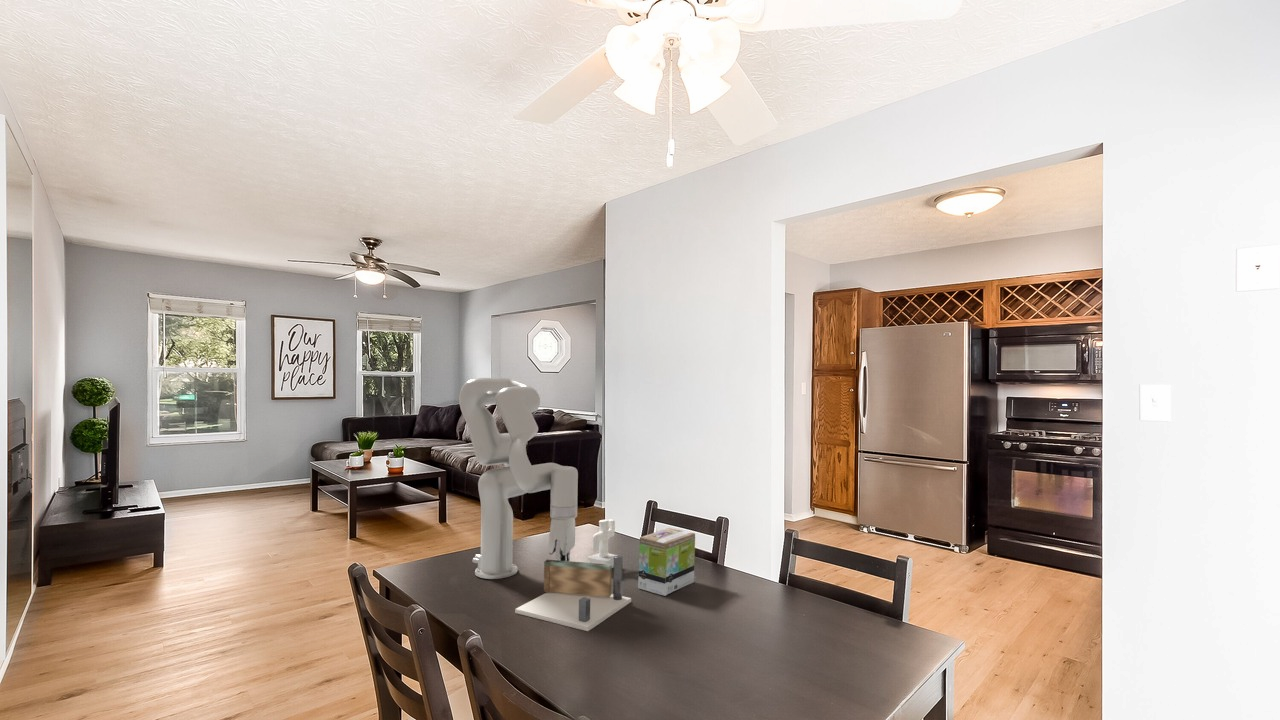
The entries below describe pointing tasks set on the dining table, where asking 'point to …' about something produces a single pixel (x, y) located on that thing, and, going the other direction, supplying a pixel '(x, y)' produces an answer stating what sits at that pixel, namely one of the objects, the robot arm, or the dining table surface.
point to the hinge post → (617, 590)
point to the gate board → (571, 609)
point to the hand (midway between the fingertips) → (562, 576)
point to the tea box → (666, 561)
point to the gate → (577, 578)
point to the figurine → (603, 543)
